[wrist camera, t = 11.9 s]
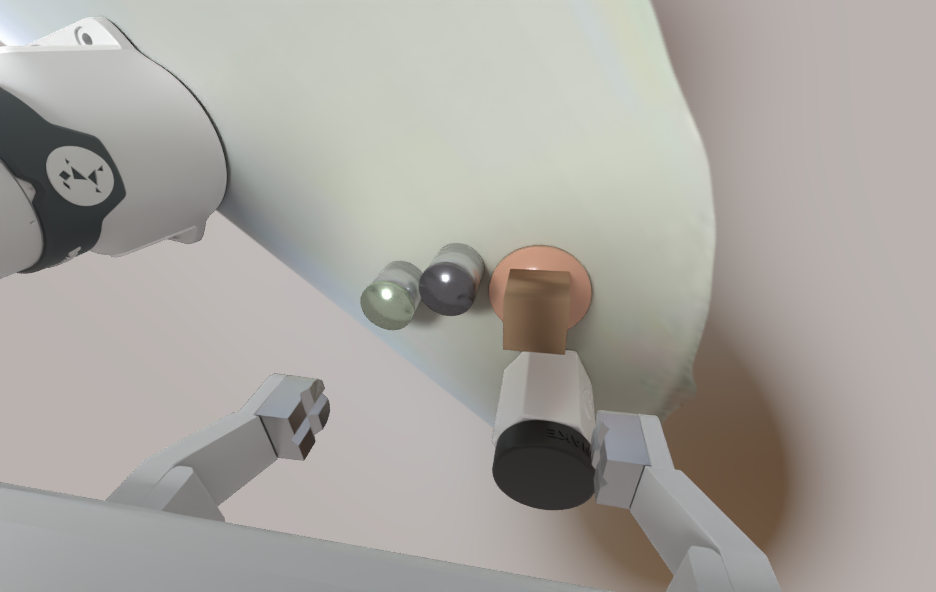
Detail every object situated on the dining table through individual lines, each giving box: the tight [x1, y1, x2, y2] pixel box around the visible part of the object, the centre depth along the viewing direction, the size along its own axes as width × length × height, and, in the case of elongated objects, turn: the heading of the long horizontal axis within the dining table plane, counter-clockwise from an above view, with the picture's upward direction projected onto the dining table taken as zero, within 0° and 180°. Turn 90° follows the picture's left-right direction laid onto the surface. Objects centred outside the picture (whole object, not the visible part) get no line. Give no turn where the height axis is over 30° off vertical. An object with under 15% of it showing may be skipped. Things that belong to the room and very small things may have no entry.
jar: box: [492, 350, 596, 510], centre depth 36 cm, size 9×8×12 cm
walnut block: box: [503, 269, 571, 355], centre depth 33 cm, size 5×5×5 cm
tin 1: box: [361, 261, 423, 330], centre depth 36 cm, size 5×5×5 cm
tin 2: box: [418, 243, 484, 316], centre depth 34 cm, size 5×5×5 cm
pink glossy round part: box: [489, 245, 592, 329], centre depth 35 cm, size 9×9×1 cm
